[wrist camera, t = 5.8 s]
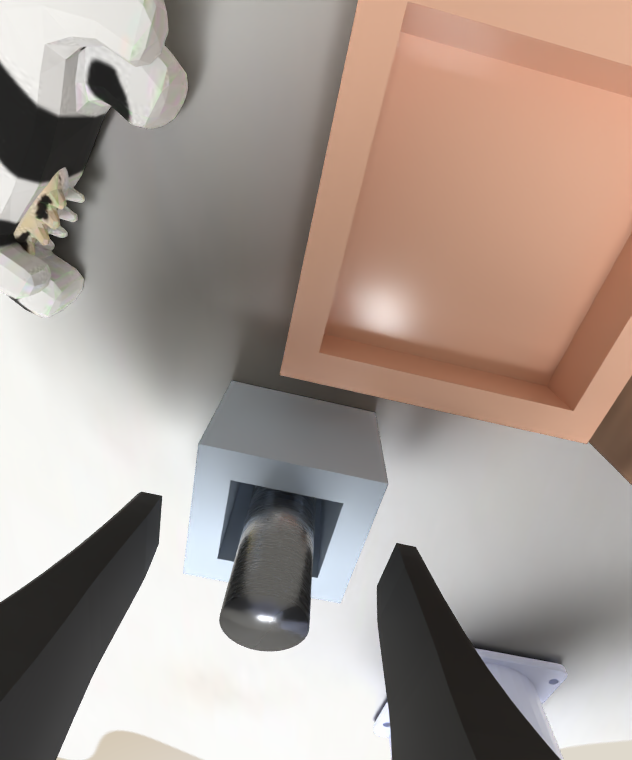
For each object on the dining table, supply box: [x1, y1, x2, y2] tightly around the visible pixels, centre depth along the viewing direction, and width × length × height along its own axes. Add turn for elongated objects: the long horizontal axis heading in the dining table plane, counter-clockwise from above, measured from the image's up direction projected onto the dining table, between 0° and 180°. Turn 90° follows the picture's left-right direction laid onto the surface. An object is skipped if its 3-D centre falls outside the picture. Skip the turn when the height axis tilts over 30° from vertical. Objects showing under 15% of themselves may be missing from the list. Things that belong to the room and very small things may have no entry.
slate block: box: [183, 381, 388, 603], centre depth 14 cm, size 6×6×4 cm
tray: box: [280, 0, 632, 444], centre depth 11 cm, size 10×10×2 cm
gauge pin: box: [219, 485, 316, 651], centre depth 13 cm, size 2×2×7 cm
